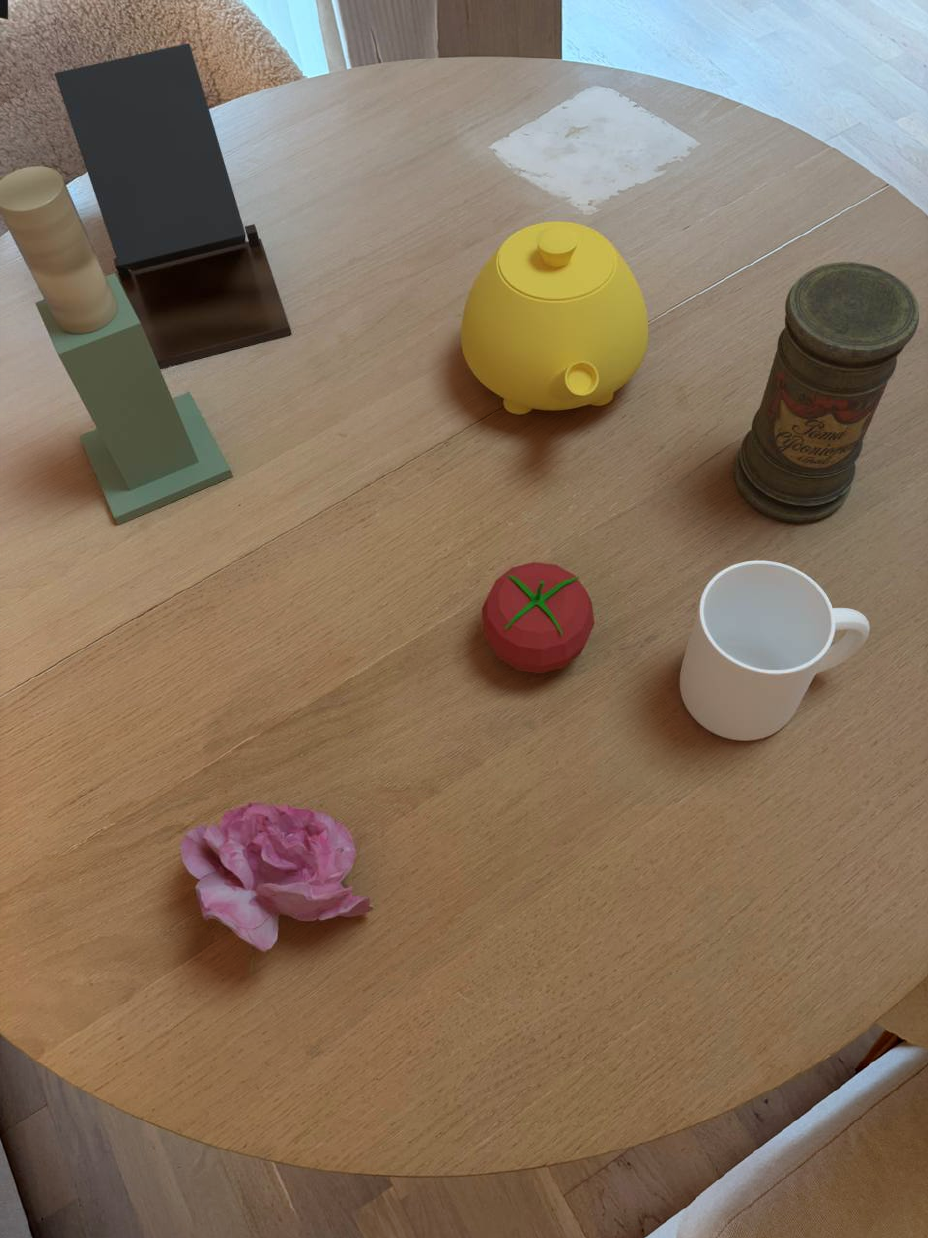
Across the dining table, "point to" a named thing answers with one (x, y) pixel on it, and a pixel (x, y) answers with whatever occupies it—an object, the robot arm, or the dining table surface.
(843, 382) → the container
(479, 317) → the teapot
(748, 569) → the mug
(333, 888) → the flower
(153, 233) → the bin
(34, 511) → the dining table surface
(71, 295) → the cylinder
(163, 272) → the bin stand
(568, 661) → the tomato
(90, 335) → the pedestal
